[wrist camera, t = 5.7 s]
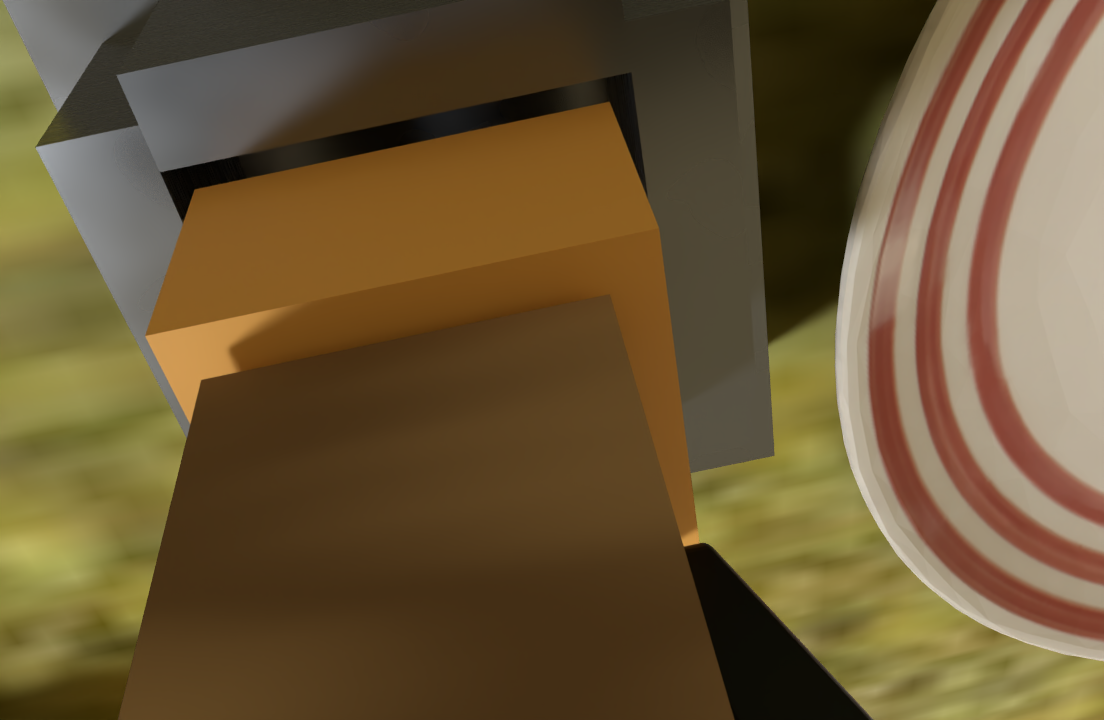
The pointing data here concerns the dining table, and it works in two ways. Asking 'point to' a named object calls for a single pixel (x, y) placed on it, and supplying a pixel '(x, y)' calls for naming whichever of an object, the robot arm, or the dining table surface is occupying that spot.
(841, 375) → the dinner plate
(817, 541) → the dining table surface
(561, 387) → the brown wooden block
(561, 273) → the orange square block
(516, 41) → the box
